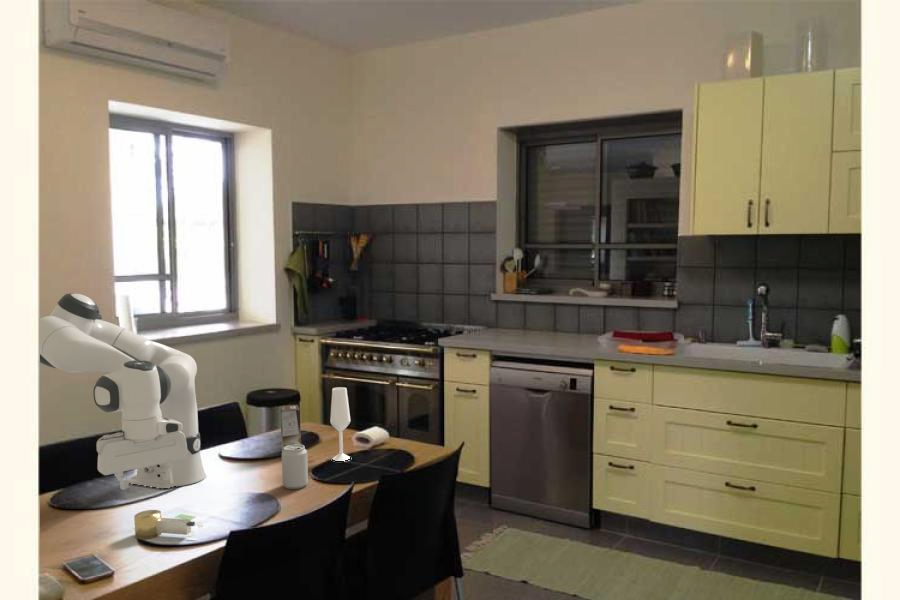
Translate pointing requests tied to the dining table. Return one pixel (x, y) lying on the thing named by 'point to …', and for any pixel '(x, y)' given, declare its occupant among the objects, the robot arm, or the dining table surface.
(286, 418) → the coffee box
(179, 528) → the yellow cylinder with handle
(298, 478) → the can
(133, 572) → the dining table surface
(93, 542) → the dining table surface
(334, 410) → the champagne flute
